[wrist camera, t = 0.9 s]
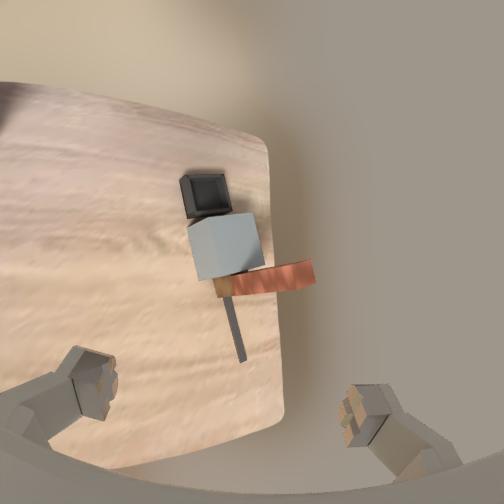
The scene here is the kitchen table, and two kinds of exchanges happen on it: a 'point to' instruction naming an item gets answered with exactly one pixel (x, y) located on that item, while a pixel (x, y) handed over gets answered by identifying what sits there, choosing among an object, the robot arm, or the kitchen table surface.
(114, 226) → the kitchen table surface
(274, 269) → the upright post on base
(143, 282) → the kitchen table surface
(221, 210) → the dark grey tray
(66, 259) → the kitchen table surface
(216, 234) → the tunnel
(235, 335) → the rail
